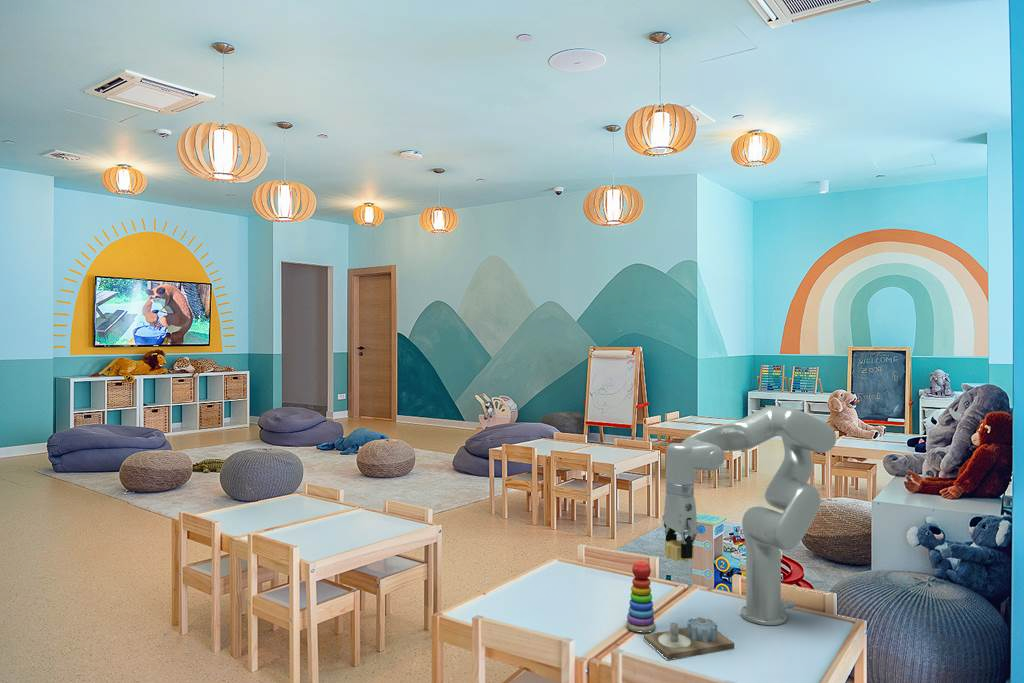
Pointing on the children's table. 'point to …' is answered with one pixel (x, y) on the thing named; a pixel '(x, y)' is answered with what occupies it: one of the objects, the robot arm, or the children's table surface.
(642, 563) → the stacking toy
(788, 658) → the children's table surface
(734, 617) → the children's table surface
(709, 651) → the gear board
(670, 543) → the ochre gear
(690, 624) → the slate gear
